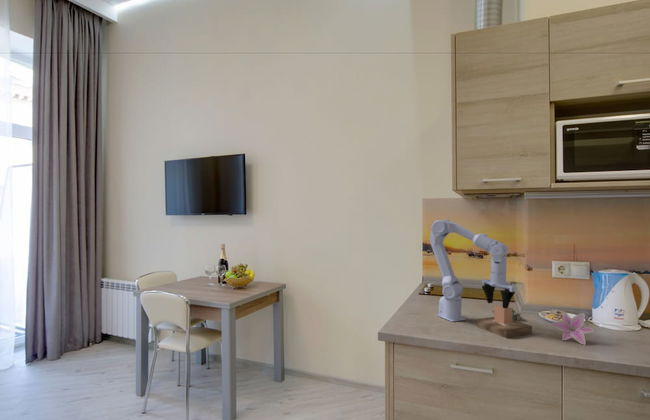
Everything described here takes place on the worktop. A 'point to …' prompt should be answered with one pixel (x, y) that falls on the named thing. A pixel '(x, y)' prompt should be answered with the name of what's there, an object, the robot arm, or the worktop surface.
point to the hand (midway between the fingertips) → (497, 305)
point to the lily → (573, 327)
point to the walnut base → (504, 327)
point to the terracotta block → (503, 315)
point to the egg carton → (513, 315)
